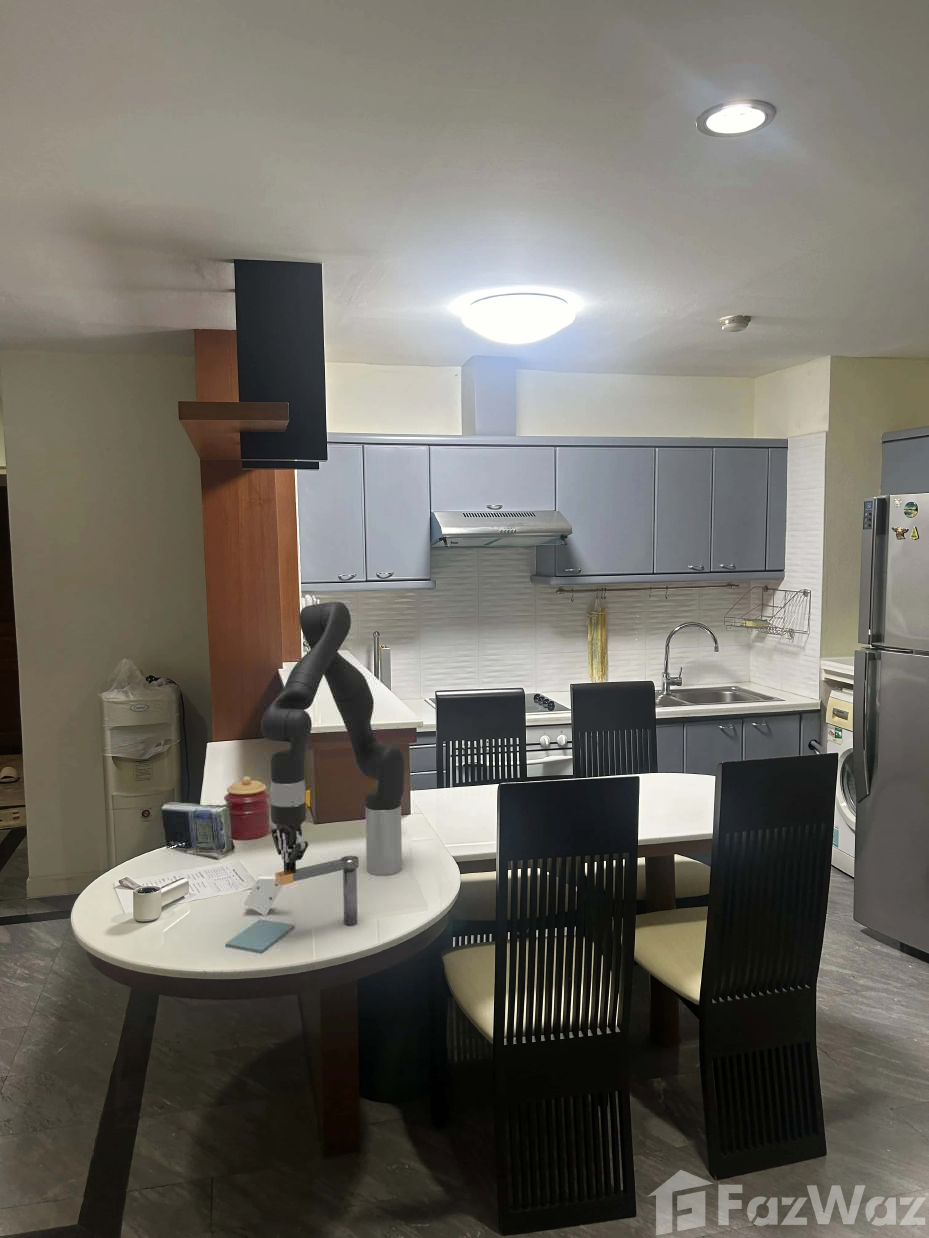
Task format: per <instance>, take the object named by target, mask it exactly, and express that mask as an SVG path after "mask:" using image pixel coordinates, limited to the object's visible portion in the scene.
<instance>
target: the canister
mask: <svg viewBox="0 0 929 1238" xmlns="http://www.w3.org/2000/svg"><path fill="white" fill-rule="evenodd" d="M266 789H267V785H266V784H264V783H262V782H261V781H260V780H252V778H251V777H250V776H247V775H245V776H243V777H242V779H241V781H236V782H234V783H232V784H231V785H229V786H228V787H227V788H226V792H227V794H225V795H224V796H223V799H224V801H225V805H226V804H228V805H229V811H230V824H231V839H232V840H236V841H252V840H257V839H261V838H264V837H266V836H268V835H270V834H271V815H270V808H271V803H269V798H270V792H268V790H267V791H266Z"/></svg>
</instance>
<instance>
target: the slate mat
mask: <svg viewBox="0 0 929 1238" xmlns="http://www.w3.org/2000/svg"><path fill="white" fill-rule="evenodd" d="M295 928H296V926H295V924H292V923H286V922H280V921H273V920H269V919H268V920H267V919H263V918H262V919H261V918H260V919H258V920H257V921H255V922H254V923H252V924H251V925H250V926H248V927H247V928H244V930H242V931H241V932H240V933H237V935H236V936H234V937H233V938H231V939H229V940H228V941H227V942H225V945H224V946H225V947H226V948H229V949H234V950H241V951H247V952H250V953H251V952H252V953H257V954H261V955H263V954H264V953H265V952H266V951H267V950H268V949H270V948H272V947H273V946H274V945H275V944H276V943H277V942H279V941H280V940H281V939H282V938H284V937H285V936H287V935H288V934H289V933H291V932H292V931H293V930H294V929H295Z"/></svg>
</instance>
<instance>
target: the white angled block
mask: <svg viewBox="0 0 929 1238" xmlns="http://www.w3.org/2000/svg"><path fill="white" fill-rule="evenodd" d="M283 887H284V885H279V884H277V883H276V878H275V875H274V876H273V875H263V876H261V875H260V876H258V878H257V880H256V881H255V883H254V885H253V886H252V888H251V890H250V892H249V894H248V896H247V897H246V899H245V901H244V902H243V905H244V906H246V907H249V908H250V909H252V910H254V911H256V912H258V913H259V914H260V915H263V916H267V914H268V913H269V911H270V909H271V907H272V906H273V904H274V902H275V901H276V899H277V898H278V895H279V894H280V892H281V890H282V889H283Z"/></svg>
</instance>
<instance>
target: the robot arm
mask: <svg viewBox="0 0 929 1238" xmlns="http://www.w3.org/2000/svg"><path fill="white" fill-rule="evenodd" d="M351 624H352V617H351V613H350V610H349V608H348V606H347V605H346V604H345V603H343V602H341V601H331V602H330V601H329V602H322V603H321V602H320V603H315V604H310V605H306V606H304V607H303V608H302V609H301V610H300V613H299V626H300V630H301V632H302V635H303V637H304V639H305V641H306V643H307V645H308V648H309V649H310V650H308V652H306V654H305V655H303V656H302V657H301V658H300V659H299V660H298V661H297V662H296V664H295V665H294V667H293V668H292V669H291V671H290V673H289V675H288V677H287V680H286V683H285V685H284V687H283V689H282V690H281V692H280V693H279V694H278V695H277V697H275V699H274V700H273V701H272V703H271V704H270V705H269V706H268V707H267V709H265V712H264V714H263V716H262V719H261V722H260V730H261V731H260V732H261V733H262V734H261V735H262V736H263V737H264V738H265V739H266V740H268V741H272V742H285V743H291V745H290V748H289V749H286V750H281V751H278V752H277V751H276V752H274V753H273V754H272V756H271V758H270V776H271V777H270V778H271V779H270V781H271V782H270V788H269V789H270V792H269V794H270V796H269V798H270V822H271V823H272V824H274V825H275V828H272V829H270V834H271V837H272V840H273V843H274V845H275V849H276V851H277V855H279V856H280V855H281V860H282V861H283V871H286V870H289V871H290V870H294V869H297V867H296V865H297V863H296V862H297V861H300V860H302V859H303V857H304V855H305V853H306V850H308V846H309V842H308V841H307V840H305V841H304V839H303V838H302V836H303V830H302V826H301V825H302V824H303V823H304V822H305V821H306V820H307V808H306V791H307V790H306V789H307V788H306V781H305V759H306V758H305V757H306V751H307V747H308V742H309V739H310V735H311V731H312V726H313V723H312V719H311V718H312V717H311V716H310V714H309V712H308V711H306V710H307V709H309V708H310V707H311V706H312V705H313V703H314V700H315V697H316V695H317V692H318V690H319V687H320V684H321V682H322V680H323V677H324V678H325V681H326V684H327V686H328V688H329V690H330V693H331V695H332V696H331V697H332V698H333V701H334V703H335V706H336V708H337V711H338V712H339V714H340V717H341V718H342V721H343V724H344V726H345V729H346V731H347V734H348V737H349V740H350V743H351V747H352V750H353V753H354V757H355V760H356V764H357V767H358V770H359V771H360V772H361V774H362V775H363V776H365V777H366V778H369V779H373V780H377V781H378V784H377V790H374V791H370V792H368V793H367V794H366V796H365V801H364V802H365V805H364V806H365V850H366V851H365V852H366V853H365V855H366V857H365V858H366V861H365V862H366V872H367V873H368V874H370V875H373V876H380V877H385V876H392V875H396V874H398V873H400V872H402V869H403V853H402V852H403V851H402V850H403V846H402V843H403V839H402V834H403V833H402V799H403V794H404V788H405V786H404V785H405V757H404V753H403V751H402V750H401V749H400V747H398V746H395V745H390V744H385V743H380V742H379V741H378V740H377V738H376V736H375V734H374V731H373V729H372V723H371V722H372V717H373V712H374V704H375V703H374V702H375V701H374V697H373V696H374V695H373V694H372V691H371V688H370V686H369V683H368V681H367V679H366V677H365V675H364V674H363V673H362V672H361V671H360V670H359V669H358V668H357V667H356V666H354V665H353V664H352V663H350V661H348V660H347V659H346V658H344V657H343V655H341V654H340V653H339V649H340V648H341V647H342V645H343V643H344V641H346V638H347V637H348V635H349V632H350V629H351Z"/></svg>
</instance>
